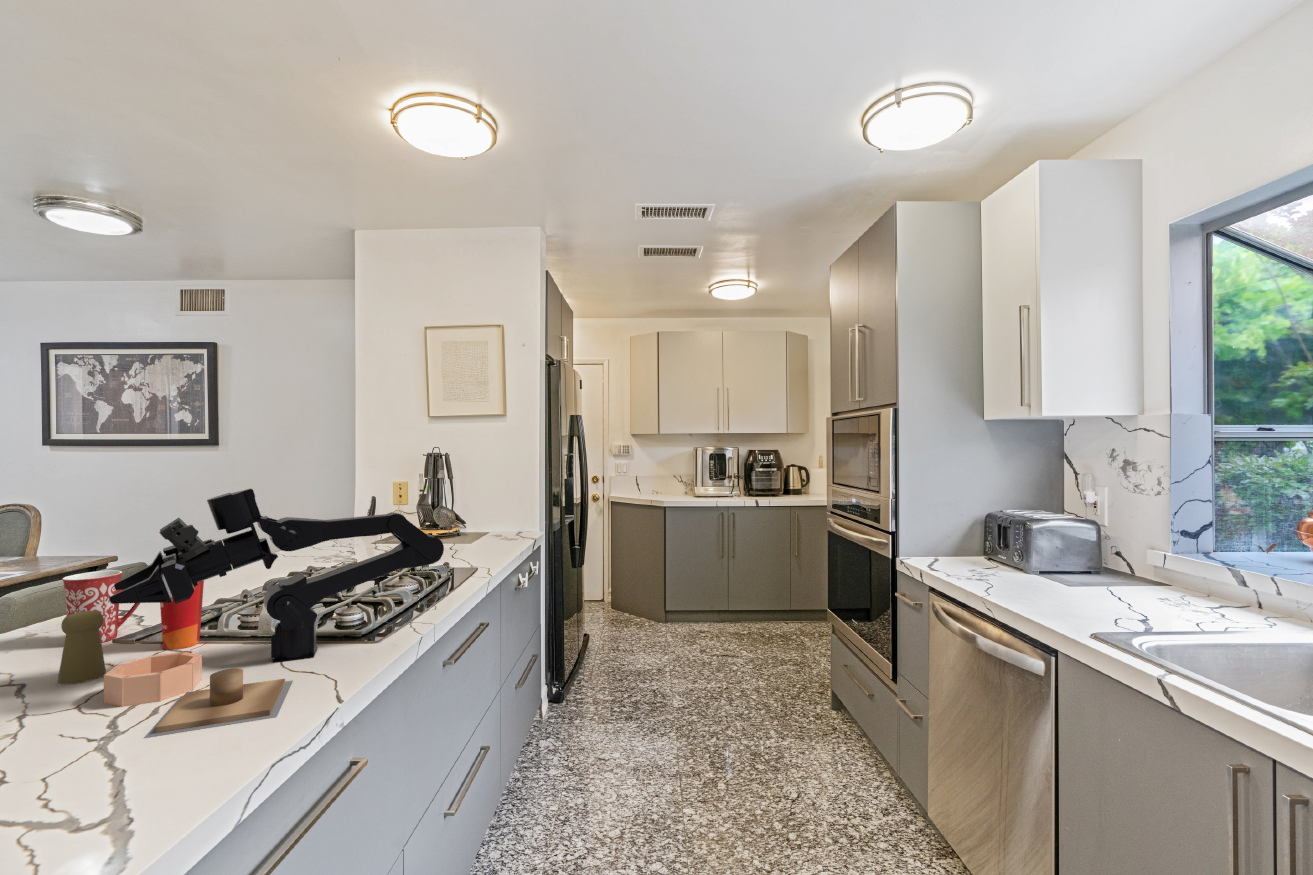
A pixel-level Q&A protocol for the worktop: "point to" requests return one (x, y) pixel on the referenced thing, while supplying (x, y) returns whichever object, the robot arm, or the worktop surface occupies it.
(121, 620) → the mug
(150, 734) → the mat
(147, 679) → the bowl
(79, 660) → the olive pepper mill
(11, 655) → the worktop surface
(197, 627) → the paper cup
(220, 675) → the lid
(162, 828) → the worktop surface
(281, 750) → the worktop surface
